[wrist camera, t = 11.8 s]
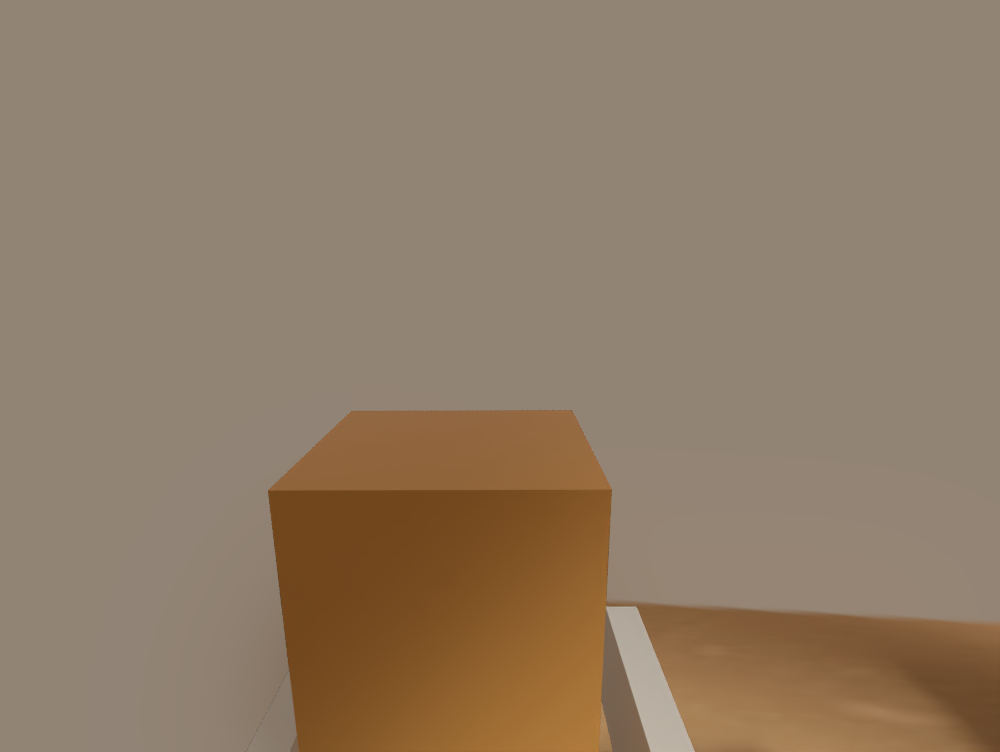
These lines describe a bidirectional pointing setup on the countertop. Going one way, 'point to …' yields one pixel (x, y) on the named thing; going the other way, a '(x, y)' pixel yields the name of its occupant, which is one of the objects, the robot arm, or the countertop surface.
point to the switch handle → (445, 583)
